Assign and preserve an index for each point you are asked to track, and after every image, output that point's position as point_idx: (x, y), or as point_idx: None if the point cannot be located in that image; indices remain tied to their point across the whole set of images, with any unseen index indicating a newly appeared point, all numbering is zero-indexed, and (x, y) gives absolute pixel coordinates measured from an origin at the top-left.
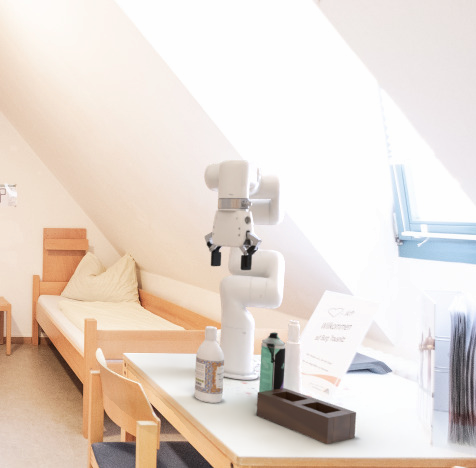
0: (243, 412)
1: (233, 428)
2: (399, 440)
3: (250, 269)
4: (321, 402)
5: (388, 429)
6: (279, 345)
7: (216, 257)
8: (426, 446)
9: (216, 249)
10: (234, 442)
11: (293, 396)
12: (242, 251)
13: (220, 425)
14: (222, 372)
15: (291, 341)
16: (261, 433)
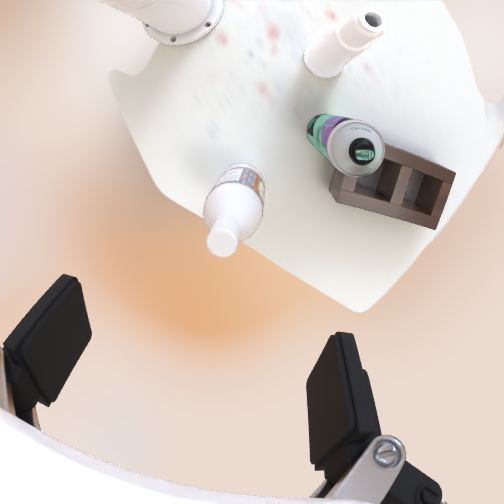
0: (310, 193)
1: (328, 263)
2: (467, 128)
3: (350, 337)
4: (418, 166)
5: (453, 93)
6: (377, 166)
7: (59, 359)
8: (484, 126)
9: (18, 396)
10: (346, 296)
11: None
12: (319, 493)
13: (313, 267)
14: (263, 198)
15: (356, 47)
16: (358, 248)
